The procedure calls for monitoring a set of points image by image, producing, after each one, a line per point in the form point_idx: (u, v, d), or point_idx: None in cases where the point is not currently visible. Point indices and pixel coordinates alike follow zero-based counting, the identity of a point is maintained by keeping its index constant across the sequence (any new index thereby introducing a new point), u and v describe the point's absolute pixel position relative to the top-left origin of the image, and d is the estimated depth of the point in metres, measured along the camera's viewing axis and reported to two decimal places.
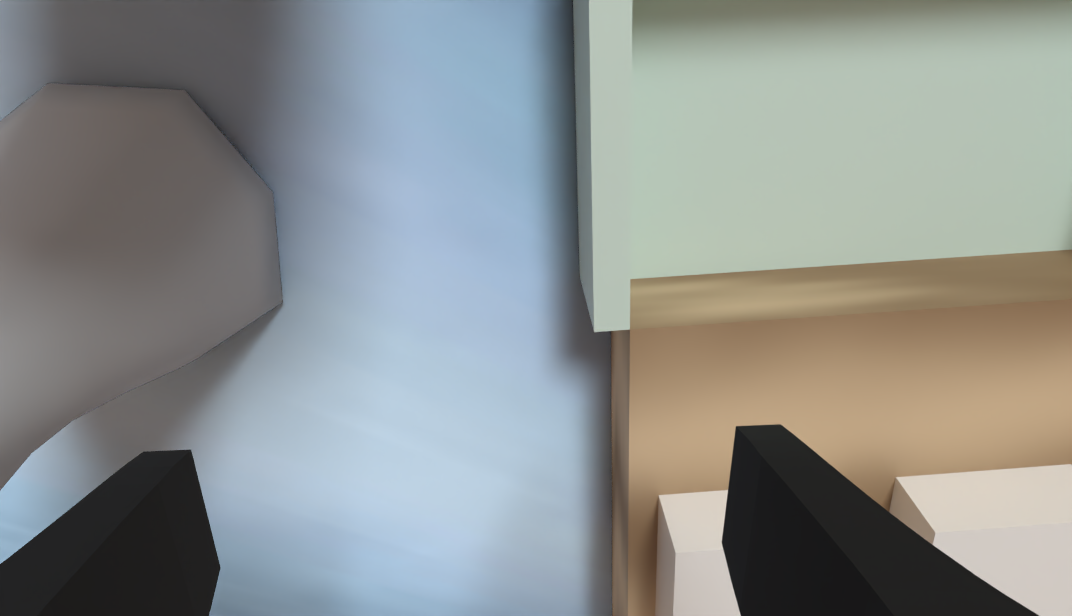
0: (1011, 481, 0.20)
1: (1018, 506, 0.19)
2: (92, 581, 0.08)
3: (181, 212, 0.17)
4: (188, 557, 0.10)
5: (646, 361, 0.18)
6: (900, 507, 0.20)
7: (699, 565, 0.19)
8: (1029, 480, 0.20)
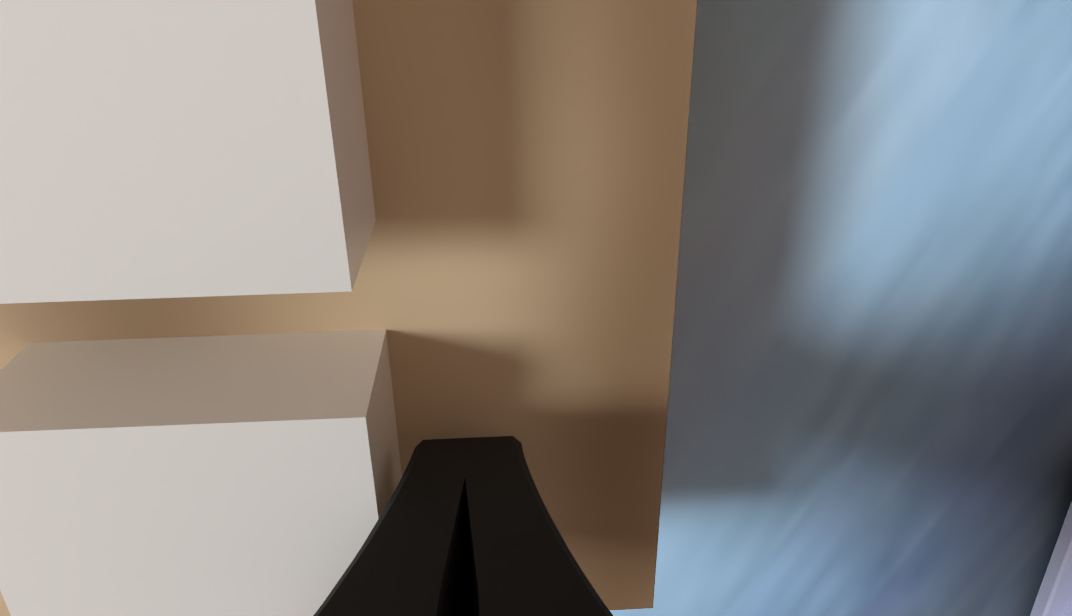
0: None
1: None
2: (451, 562, 0.08)
3: None
4: None
5: None
6: None
7: None
8: None
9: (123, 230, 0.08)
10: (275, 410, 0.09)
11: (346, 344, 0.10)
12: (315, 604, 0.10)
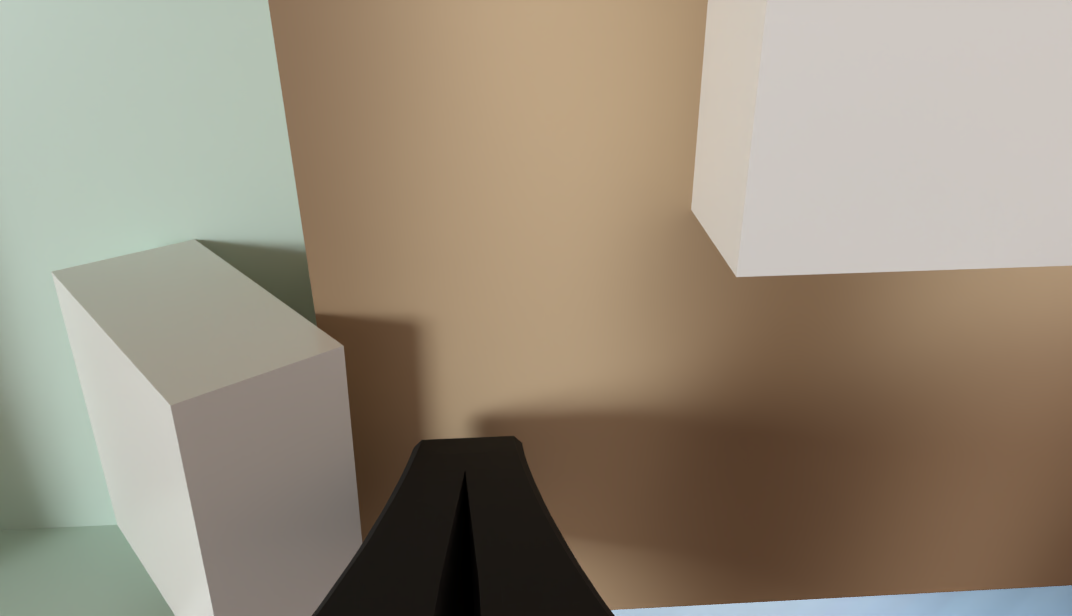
0: None
1: (742, 26, 0.08)
2: (449, 561, 0.08)
3: None
4: None
5: None
6: None
7: (119, 511, 0.13)
8: None
9: (989, 202, 0.08)
10: (153, 362, 0.09)
11: (297, 340, 0.10)
12: (182, 560, 0.10)
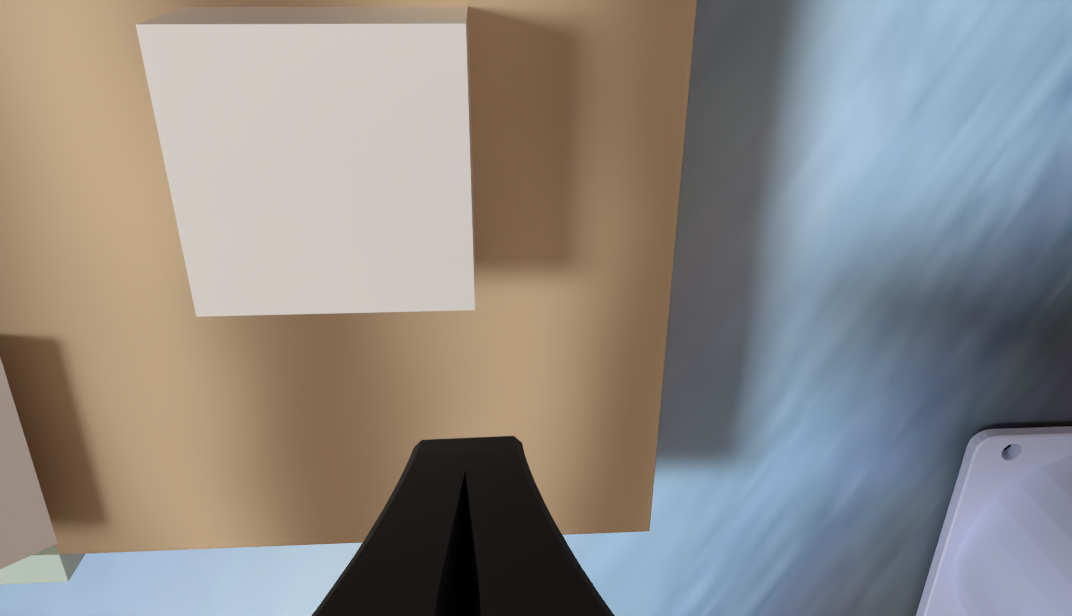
0: None
1: None
2: (450, 562, 0.08)
3: None
4: None
5: (95, 539, 0.18)
6: None
7: None
8: None
9: (344, 272, 0.13)
10: None
11: None
12: None
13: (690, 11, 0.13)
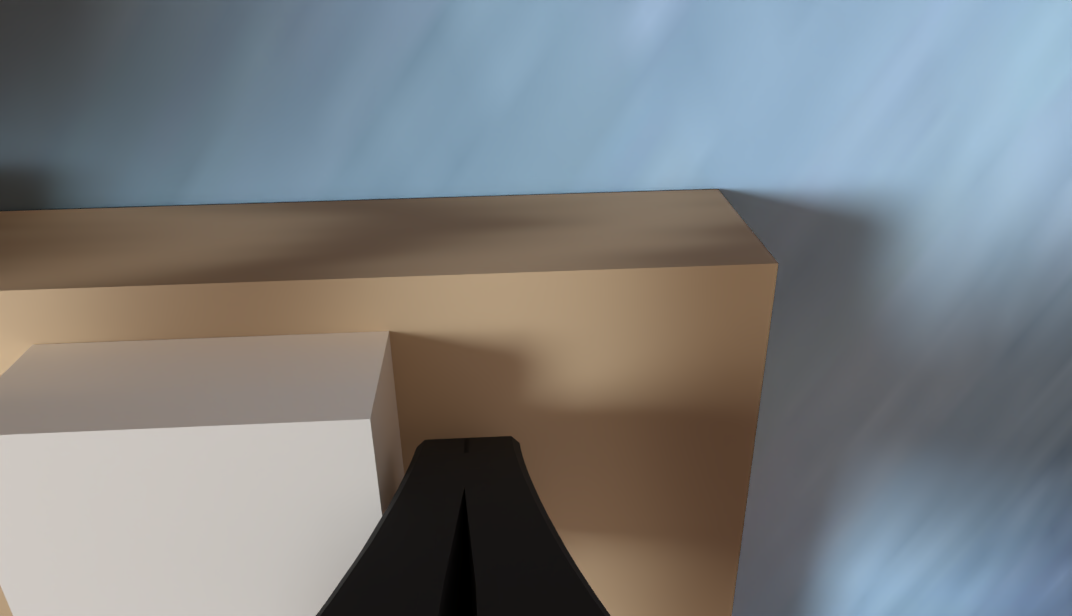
0: None
1: None
2: (453, 561, 0.08)
3: None
4: None
5: None
6: None
7: None
8: None
9: None
10: None
11: None
12: None
13: (764, 321, 0.11)
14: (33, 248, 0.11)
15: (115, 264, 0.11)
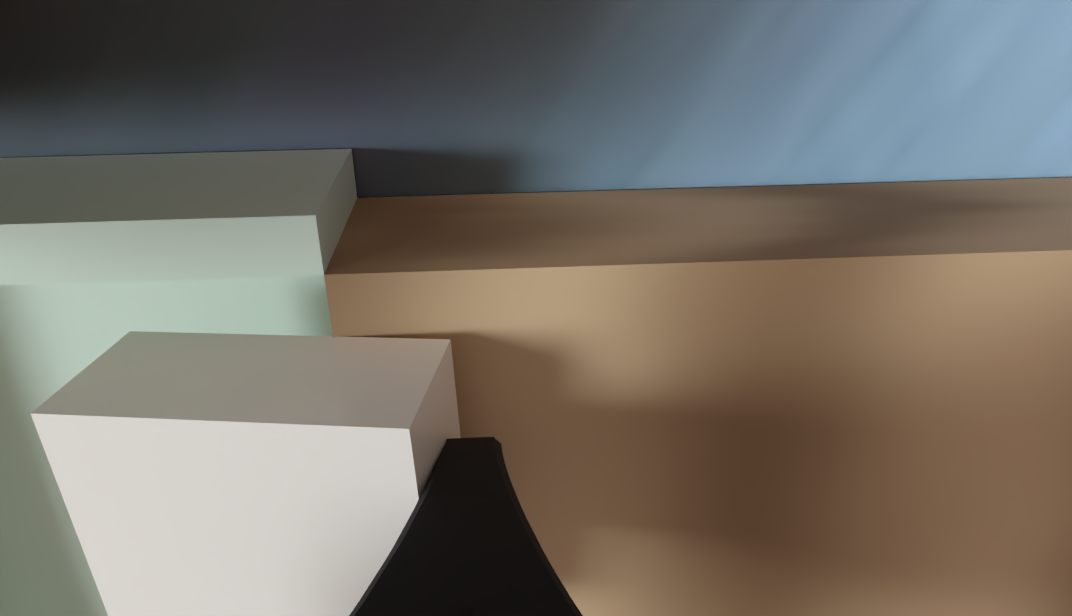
0: None
1: None
2: (483, 560, 0.08)
3: None
4: None
5: None
6: None
7: None
8: None
9: None
10: None
11: None
12: None
13: None
14: (552, 228, 0.12)
15: (657, 243, 0.11)
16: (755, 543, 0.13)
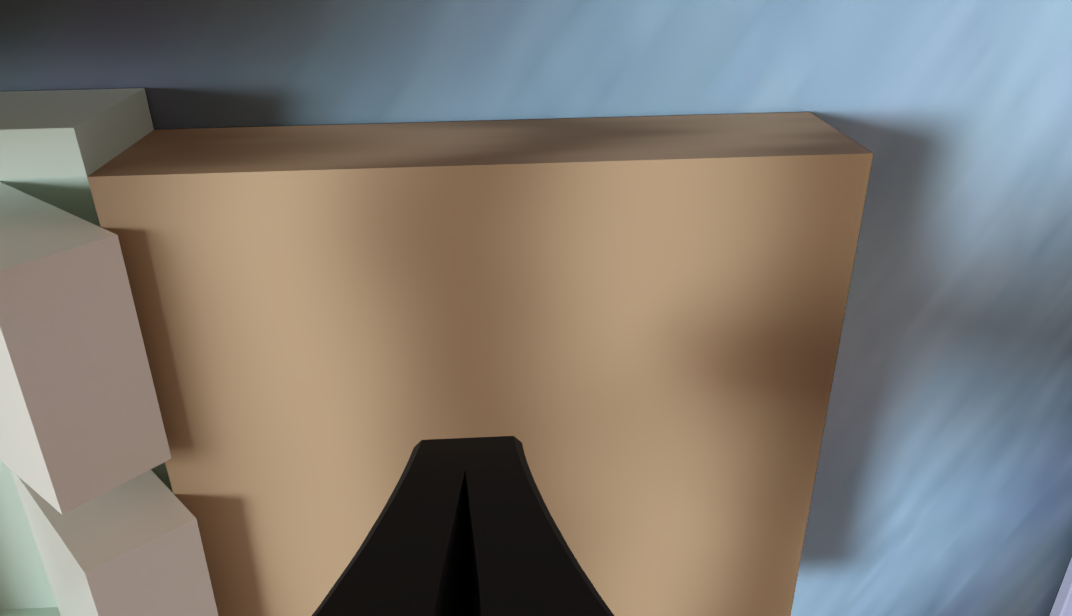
0: None
1: None
2: (450, 562, 0.08)
3: None
4: None
5: None
6: None
7: (60, 608, 0.18)
8: None
9: None
10: (75, 538, 0.15)
11: (167, 515, 0.15)
12: None
13: (860, 200, 0.14)
14: (293, 147, 0.14)
15: (366, 156, 0.14)
16: (478, 410, 0.16)
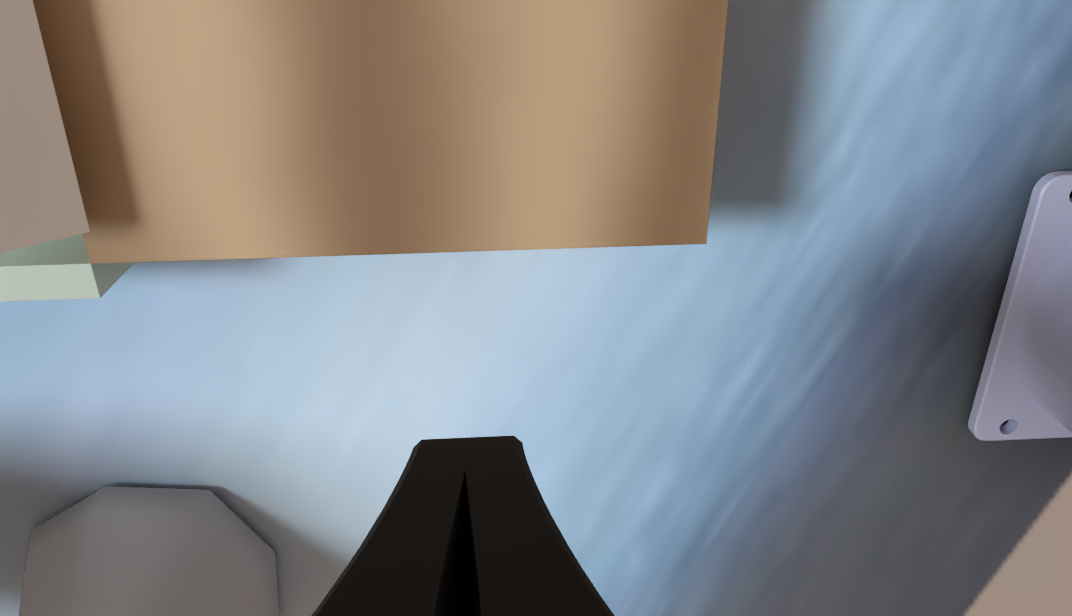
0: None
1: None
2: (449, 561, 0.08)
3: (59, 583, 0.21)
4: None
5: (127, 245, 0.17)
6: None
7: None
8: None
9: None
10: None
11: None
12: None
13: None
14: None
15: None
16: None
